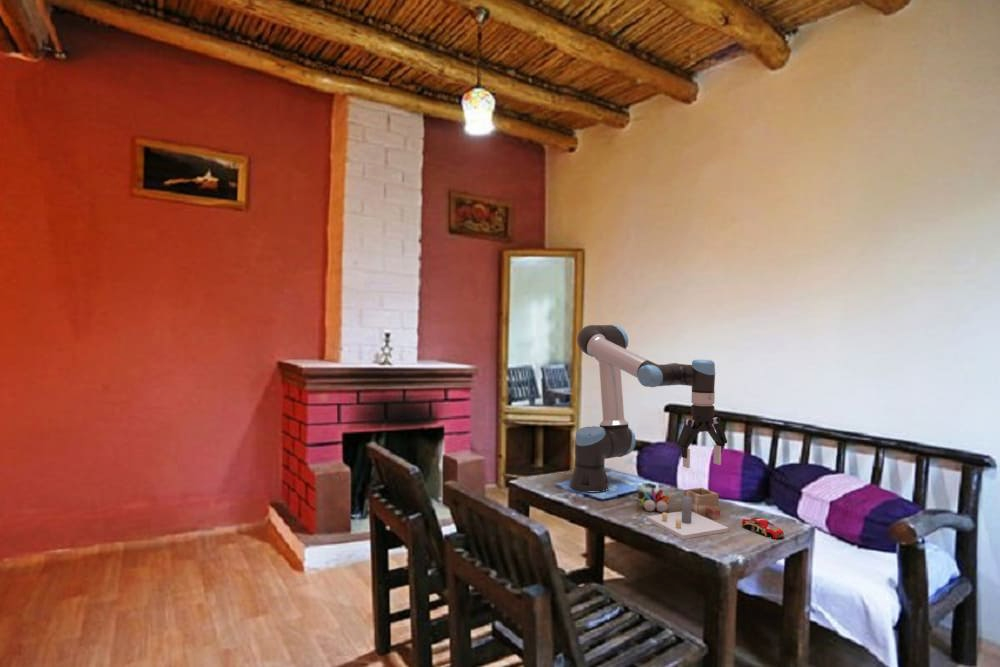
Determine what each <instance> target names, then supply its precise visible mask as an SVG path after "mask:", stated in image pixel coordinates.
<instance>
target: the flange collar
mask: <svg viewBox="0 0 1000 667" xmlns="http://www.w3.org/2000/svg"><path fill="white" fill-rule="evenodd" d="M719 495H720V494H719V493H717V492H714V491H712V490H709V489H706V488H704V487H696V488H689V489H683V496H689V497H692V512H694V513H697V514H699V515H701V516H703V517H706V518H708V519H710V520H718V519H719V520H720V519H721V509H720V508H719Z"/></svg>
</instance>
